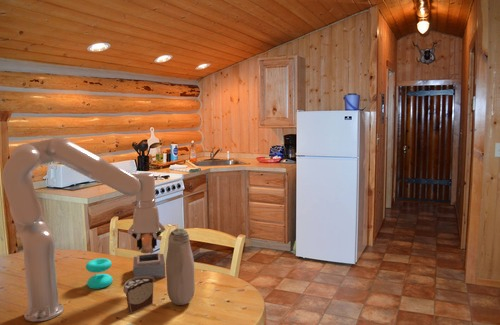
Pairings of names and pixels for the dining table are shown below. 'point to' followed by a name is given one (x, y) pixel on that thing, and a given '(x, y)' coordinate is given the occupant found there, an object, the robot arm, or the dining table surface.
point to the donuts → (99, 279)
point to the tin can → (146, 242)
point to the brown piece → (139, 292)
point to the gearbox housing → (149, 265)
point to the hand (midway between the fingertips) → (147, 247)
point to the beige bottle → (180, 268)
